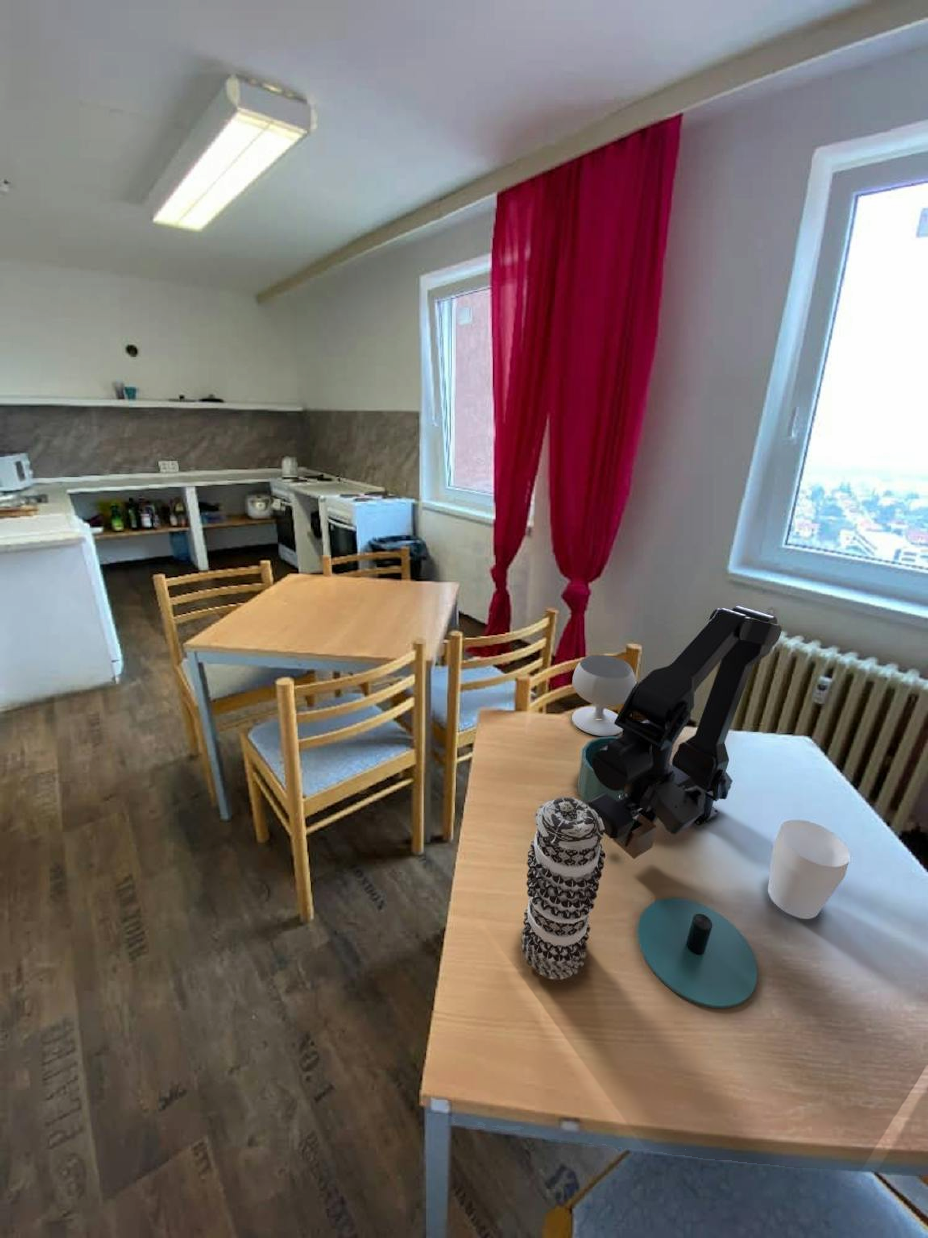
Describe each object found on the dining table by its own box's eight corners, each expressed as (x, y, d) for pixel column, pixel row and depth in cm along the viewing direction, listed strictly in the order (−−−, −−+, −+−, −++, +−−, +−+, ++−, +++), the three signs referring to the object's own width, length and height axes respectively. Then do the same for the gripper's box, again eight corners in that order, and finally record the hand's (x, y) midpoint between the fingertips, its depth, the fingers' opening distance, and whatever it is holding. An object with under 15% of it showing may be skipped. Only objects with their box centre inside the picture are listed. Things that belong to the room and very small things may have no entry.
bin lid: (681, 887, 81) (688, 858, 79) (778, 970, 70) (790, 939, 67) (613, 935, 74) (619, 904, 71) (710, 1037, 62) (721, 1005, 60)
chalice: (613, 747, 114) (622, 688, 108) (557, 724, 122) (563, 667, 116) (637, 720, 124) (647, 664, 118) (584, 700, 132) (591, 647, 126)
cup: (817, 886, 82) (840, 828, 77) (834, 937, 74) (861, 875, 69) (754, 869, 85) (773, 812, 80) (764, 917, 77) (785, 857, 72)
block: (630, 829, 86) (634, 809, 85) (652, 847, 83) (657, 826, 81) (612, 840, 84) (616, 819, 82) (634, 859, 81) (638, 837, 79)
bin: (612, 760, 110) (617, 728, 107) (669, 801, 99) (676, 767, 96) (562, 784, 103) (566, 750, 100) (617, 830, 92) (624, 795, 89)
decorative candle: (598, 983, 67) (625, 837, 58) (529, 995, 66) (546, 847, 56) (572, 919, 76) (592, 782, 66) (511, 929, 74) (522, 790, 64)
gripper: (651, 818, 66) (633, 904, 72) (736, 768, 76) (713, 849, 82) (588, 769, 75) (577, 850, 81) (671, 730, 84) (655, 805, 90)
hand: (633, 839), depth 83 cm, fingers closed on block, 4 cm apart
